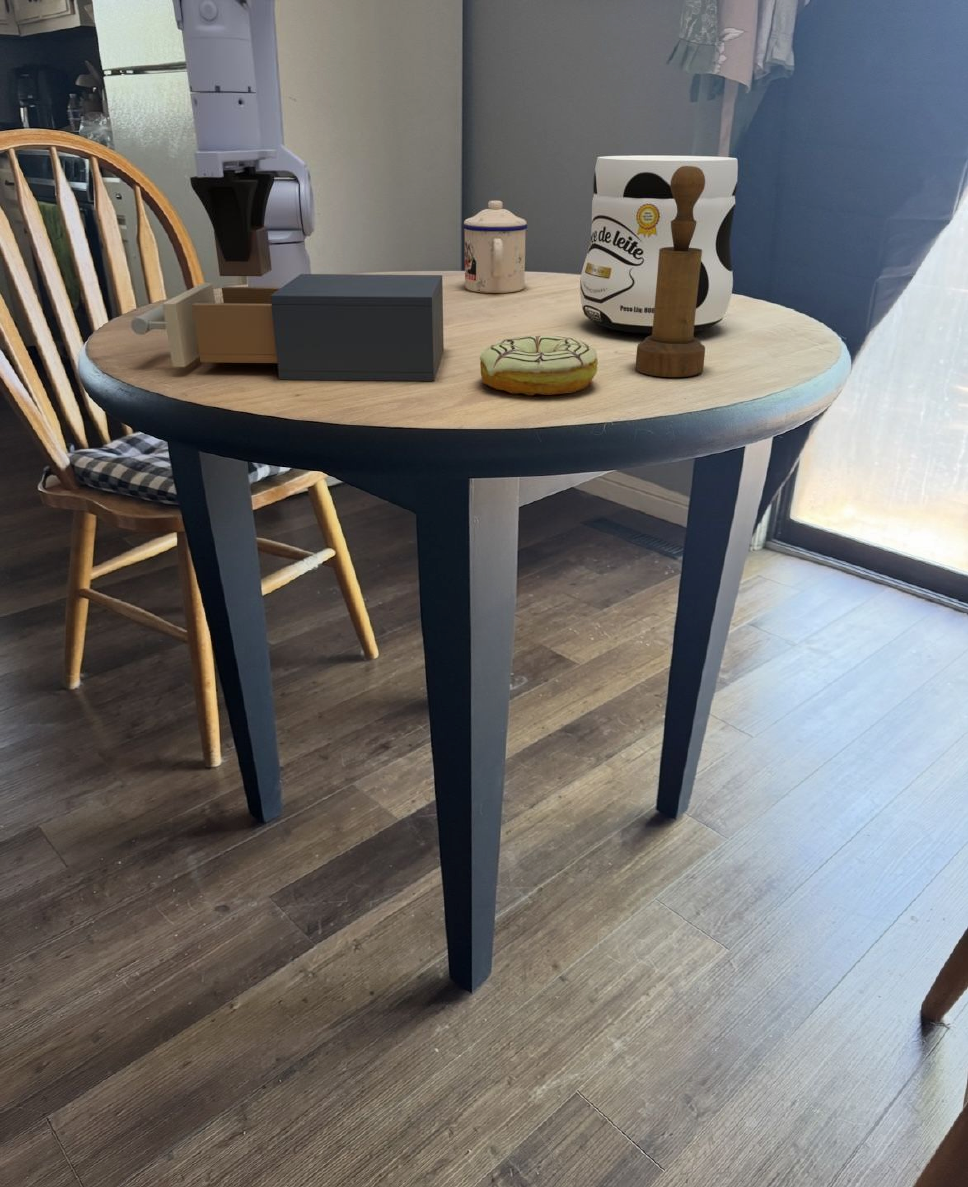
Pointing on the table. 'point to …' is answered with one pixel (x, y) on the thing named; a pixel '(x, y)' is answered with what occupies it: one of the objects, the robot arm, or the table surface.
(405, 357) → the cabinet
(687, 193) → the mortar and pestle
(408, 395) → the table surface
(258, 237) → the block
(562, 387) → the decorated donut
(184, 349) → the drawer
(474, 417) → the table surface
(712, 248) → the milk container
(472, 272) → the teacup with lid
